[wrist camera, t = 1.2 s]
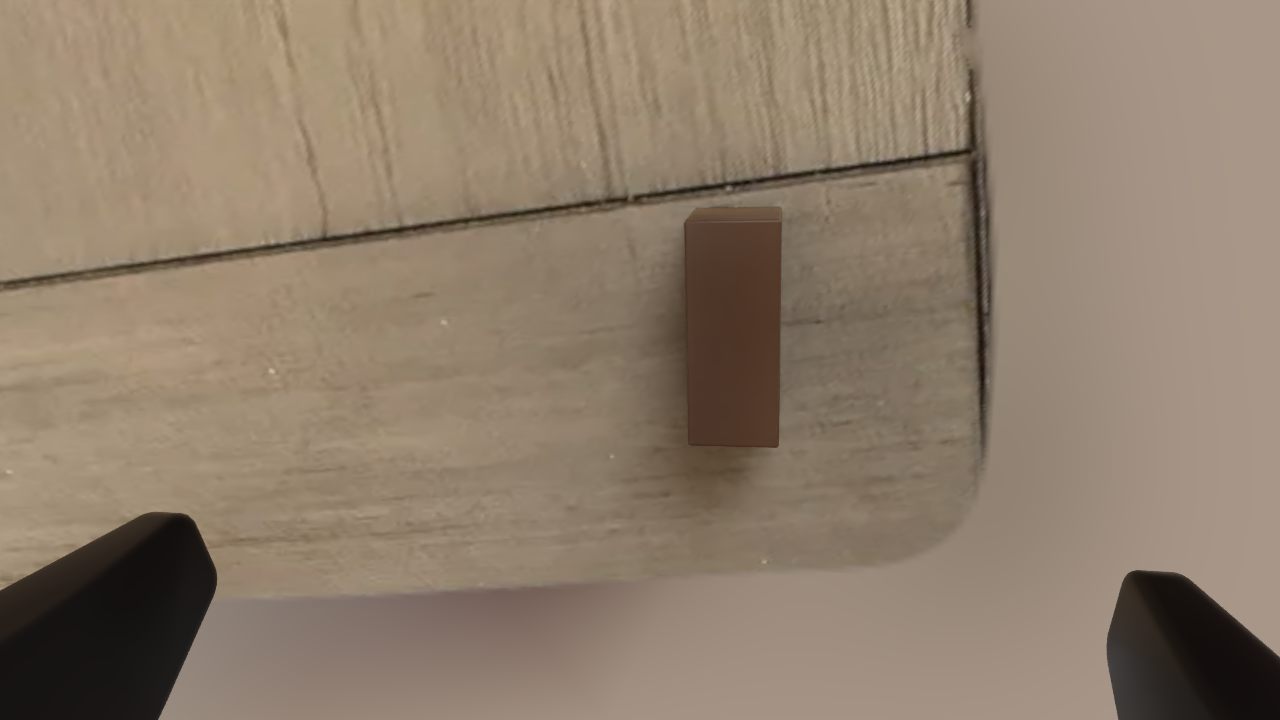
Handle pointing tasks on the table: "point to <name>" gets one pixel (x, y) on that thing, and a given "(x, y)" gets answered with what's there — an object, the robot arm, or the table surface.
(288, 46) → the table surface
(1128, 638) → the robot arm
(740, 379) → the tall brown square pillar
